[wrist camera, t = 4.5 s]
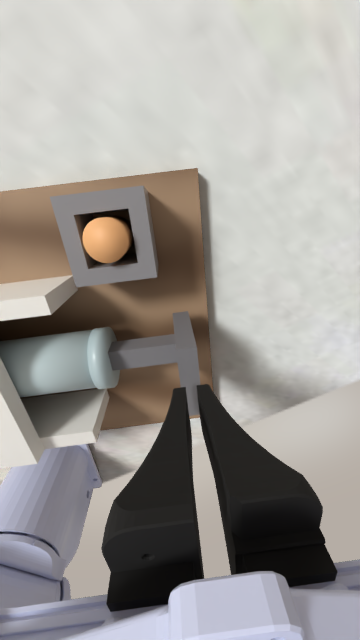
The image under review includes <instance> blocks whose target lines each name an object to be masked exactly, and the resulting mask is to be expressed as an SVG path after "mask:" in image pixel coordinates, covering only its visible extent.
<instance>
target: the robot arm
mask: <svg viewBox="0 0 360 640" xmlns="http://www.w3.org/2000/svg"><path fill="white" fill-rule="evenodd" d="M197 395H198V404H199V414H200V420H201V426H202V432H203V436H204V440H205V443H206V447H207V451H208V454H209V458H210V462H211V466H212V470H213V473H214V478H215V483H216V489H217V494H218V500H219V506H220V511H221V517H222V522H223V529H224V534H225V540H226V546H227V552H228V557H229V564H230V570H231V575H229V576H221V577H214V578H207V579H204V573H203V564H202V556H201V547H200V540H199V530H198V521H197V513H196V503H195V494H194V485H193V471H192V436H191V426H190V418H189V410H188V402H187V394H186V387H181V388H174V389H173V393H172V399H171V403H170V406H169V409H168V412H167V415H166V418H165V421H164V423H163V425H162V428H161V430H160V432H159V435H158V437H157V439H156V441H155V443H154V444H153V446H152V448H151V450H150V452H149V453H148V455H147V457H146V458H145V460H144V462H143V463H142V465H141V466H140V468H139V469H138V470H137V472H136V473H135V475H134V476H133V478H132V479H131V480H130V482H129V483H128V484H127V486H125V488H124V489H123V490H122V491H121V493H120V494H119V495H118V496H117V497H116V499H115V500H114V502H113V505H112V507H111V510H110V513H109V516H108V519H107V523H106V527H105V532H104V537H103V543H102V553H103V556H104V558H105V560H106V562H107V564H108V567H109V569H110V571H111V575H110V582H109V588H108V594H107V595H99V596H93V597H85V598H78V599H71V596H70V584H69V581H68V580H67V579H66V578H65V577H63V574H64V570H65V568H66V567H67V566H68V565H69V563H70V561H71V560H72V559H73V557H74V555H75V553H76V551H77V549H78V546H79V543H80V538H81V535H82V531H83V527H84V523H85V519H86V515H87V511H88V507H89V503H90V499H91V495H92V491H93V488H99V487H101V485H102V480H101V478H100V475H99V472H98V470H97V467H96V464H95V462H94V459H93V456H92V454H91V451H90V448H89V446H88V444H81V445H73V446H66V447H58V448H50V449H45V450H44V452H43V454H42V456H41V458H40V460H39V462H38V464H32V465H25V466H17V467H11V469H10V470H9V472H8V474H7V475H6V477H5V479H4V480H3V482H2V484H1V486H0V640H360V560H352V561H345V562H338V563H333V561H332V559H331V557H330V555H329V553H328V551H327V549H326V547H325V545H324V544H325V538H324V536H323V534H322V532H321V530H320V528H319V527H320V522H321V517H322V511H323V510H322V509H323V507H322V505H321V503H320V501H319V499H318V497H317V495H316V493H315V492H314V491H313V489H312V487H311V486H310V484H309V483H308V482H307V480H306V479H305V478H304V477H303V475H302V474H300V473H298V472H297V471H295V470H294V469H292V468H290V467H289V466H287V465H286V464H284V463H283V462H281V461H280V460H279V459H277V458H276V457H274V456H273V455H272V454H270V453H269V452H268V451H267V450H266V449H264V448H263V447H262V446H261V445H259V444H258V443H257V442H256V441H255V440H253V439H252V438H251V437H250V436H249V435H248V434H247V433H246V432H245V431H244V430H243V429H242V428H241V427H240V426H239V425H238V424H237V423H236V422H235V420H234V419H233V418H232V417H231V416H230V415H229V413H228V412H227V411H226V410H225V408H224V407H223V406H222V404H221V403H220V402H219V400H218V399H217V397H216V396H215V394H214V393H213V391H212V389H211V387H210V385H208V384H204V385H197Z"/></svg>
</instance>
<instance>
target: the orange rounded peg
mask: <svg viewBox="0 0 360 640" xmlns="http://www.w3.org/2000/svg"><path fill="white" fill-rule="evenodd" d="M133 243H134V238H133V232H132V226H131V224H130V223H129V222H128V221H127V220H126V219H124V218H122V217H118V216H113V217H102V218H96V219H94V220H92V221H90V222H89V223H88V224H87V225H86V227H85V229H84V231H83V245H84V247H85V249H86V251H87V253H88V254H89V255H90V256H91V257H92V258H93V259H95V260H97V261H99V262H102V263H113V262H116V261H118V260H119V259H120V258H121V257H122V256H123V255H124V254H125V253H126V252H127V251H128V250H129V249H130V248H131V246H132V245H133Z"/></svg>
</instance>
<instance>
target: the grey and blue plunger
mask: <svg viewBox="0 0 360 640" xmlns="http://www.w3.org/2000/svg"><path fill="white" fill-rule="evenodd" d="M173 325H174V334H170V335H162V336H155V337H147V338H139V339H131V340H123V341H117V339H116V336H115V334H114V332H113V330H112V329H111V328H110V327H103V328H95V329H93V330H86V331H78V332H70V333H62V334H54V335H46V336H38V337H30V338H22V339H14V340H6V341H0V358H1V360H2V362H3V364H4V366H5V368H6V370H7V372H8V374H9V376H10V378H11V380H12V382H13V384H14V387H15V389H16V391H17V393H18V395H19V397H28V396H36V395H43V394H51V393H59V392H67V391H75V390H82V389H90V388H98V389H107V388H114V387H116V386H117V384H118V381H119V375H120V370H122V369H130V368H138V367H146V366H154V365H161V364H169V363H178V370H179V378H180V385H181V387H186V394H187V402H188V410H189V416H193V415H200V414H199V404H198V395H197V385H200V375H199V364H198V354H197V346H196V342H195V338H194V333H193V329H192V325H191V321H190V317H189V313H188V311H185V312H177V313H173Z"/></svg>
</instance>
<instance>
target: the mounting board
mask: <svg viewBox="0 0 360 640" xmlns="http://www.w3.org/2000/svg"><path fill="white" fill-rule="evenodd" d="M135 186H144V187H145V188H146V190H147V191H148V197H149V203H150V210H151V217H152V224H153V231H154V238H155V244H156V251H157V258H158V274H157V277H156V278H148V279H140V280H132V281H124V282H116V283H108V284H100V285H92V286H84V287H77V289H78V291H76V292H75V293H74V294H73V295H72V296H71V297H70V298H69V299H68V300H67V301H66V302H64V303H63V304H62V305H61V306H60V307H59V308H58V309H57V310H56V311H55V312H54V313H53V314H51V315H45V316H37V317H29V318H21V319H13V320H5V321H0V341H6V340H14V339H22V338H30V337H38V336H46V335H54V334H62V333H70V332H78V331H86V330H93V329H95V328H103V327H110V328H111V329H112V330H113V332H114V334H115V336H116V339H117V341H123V340H131V339H139V338H147V337H155V336H162V335H170V334H174V325H173V313H177V312H185V311H188V313H189V317H190V321H191V325H192V329H193V333H194V338H195V342H196V346H197V354H198V364H199V375H200V385H204V384H208V385H210V387H211V389H212V391H213V383H212V368H211V354H210V340H209V325H208V311H207V297H206V282H205V268H204V254H203V239H202V225H201V211H200V196H199V182H198V168H194V169H186V170H177V171H169V172H160V173H152V174H144V175H135V176H127V177H119V178H110V179H102V180H94V181H85V182H77V183H68V184H60V185H52V186H43V187H35V188H27V189H18V190H10V191H2V192H0V284H5V283H13V282H21V281H29V280H38V279H46V278H54V277H62V276H70V275H72V272H71V268H70V265H69V262H68V258H67V255H66V251H65V248H64V245H63V241H62V238H61V234H60V231H59V228H58V224H57V221H56V217H55V214H54V211H53V207H52V204H51V200H50V197H52V196H60V195H68V194H77V193H85V192H93V191H102V190H110V189H118V188H127V187H135ZM113 216H118V217H122V218H124V219H126V220H127V221H128V222H129V223H130V224H131V221H130V215H129V210H123V211H115V212H107V213H99V214H93V217H94V219H96V218H102V217H113ZM130 254H136V249H135V243H133V245H132V246H131V248H130V249H129V250H128V251H127V252H126V253H125V254H124V255H130ZM174 388H181V385H180V378H179V370H178V363H169V364H161V365H154V366H146V367H138V368H130V369H122V370H120V375H119V381H118V384H117V386H116V387H114V388H107V391H108V395H109V401H108V404H107V408H106V411H105V415H104V418H103V421H102V425H101V428H100V430H107V429H115V428H123V427H130V426H138V425H146V424H153V423H161V422H164V421H165V418H166V415H167V412H168V409H169V406H170V403H171V399H172V393H173V389H174ZM93 389H98V388H90V389H82V390H75V391H67V392H59V393H51V394H43V395H36V396H28V397H20V399H23V398H31V397H39V396H47V395H55V394H62V393H70V392H78V391H86V390H93ZM199 417H200V415H193V416H189V418H190V419H191V418H199Z"/></svg>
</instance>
